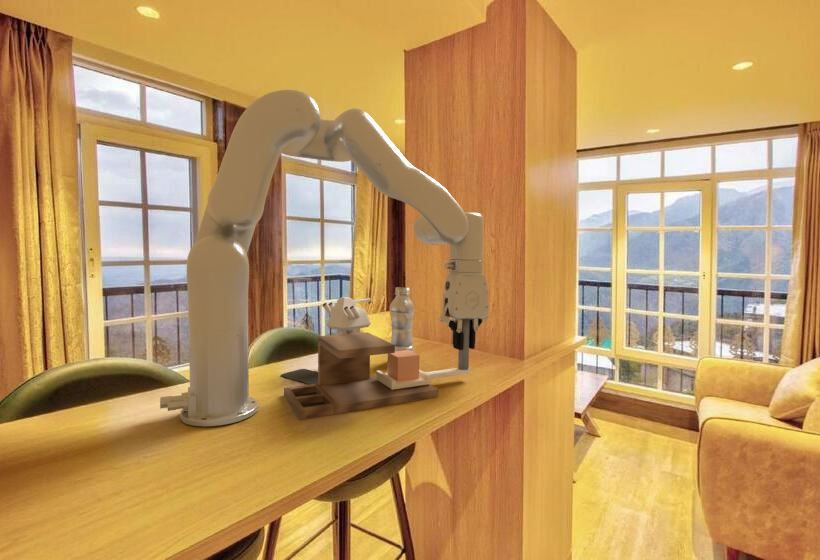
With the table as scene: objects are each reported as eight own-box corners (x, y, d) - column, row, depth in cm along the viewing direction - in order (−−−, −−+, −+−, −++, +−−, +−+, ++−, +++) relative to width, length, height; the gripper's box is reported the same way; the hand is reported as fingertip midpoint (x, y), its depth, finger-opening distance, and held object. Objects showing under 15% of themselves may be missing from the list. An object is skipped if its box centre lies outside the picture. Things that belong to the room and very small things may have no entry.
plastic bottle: (414, 366, 108) (415, 289, 107) (387, 365, 108) (388, 288, 107) (414, 359, 115) (415, 287, 113) (389, 359, 115) (390, 286, 114)
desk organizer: (299, 419, 72) (299, 354, 72) (283, 395, 85) (283, 338, 84) (438, 396, 85) (439, 340, 85) (407, 378, 98) (407, 329, 97)
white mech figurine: (385, 366, 107) (386, 296, 106) (346, 378, 97) (346, 300, 96) (353, 358, 115) (353, 293, 114) (313, 368, 105) (314, 296, 104)
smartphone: (303, 367, 104) (346, 378, 95) (303, 371, 104) (346, 382, 95) (278, 374, 98) (321, 386, 89) (278, 378, 98) (321, 390, 89)
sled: (391, 389, 84) (392, 325, 83) (376, 378, 91) (376, 319, 90) (478, 376, 94) (479, 318, 93) (457, 367, 101) (459, 314, 100)
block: (397, 381, 86) (397, 357, 86) (387, 375, 90) (387, 352, 90) (419, 378, 88) (419, 355, 88) (408, 372, 93) (408, 350, 92)
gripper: (444, 268, 88) (442, 355, 89) (504, 268, 95) (502, 348, 97) (426, 267, 95) (425, 348, 96) (484, 267, 102) (482, 342, 103)
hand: (463, 347), depth 96 cm, fingers closed on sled, 2 cm apart
